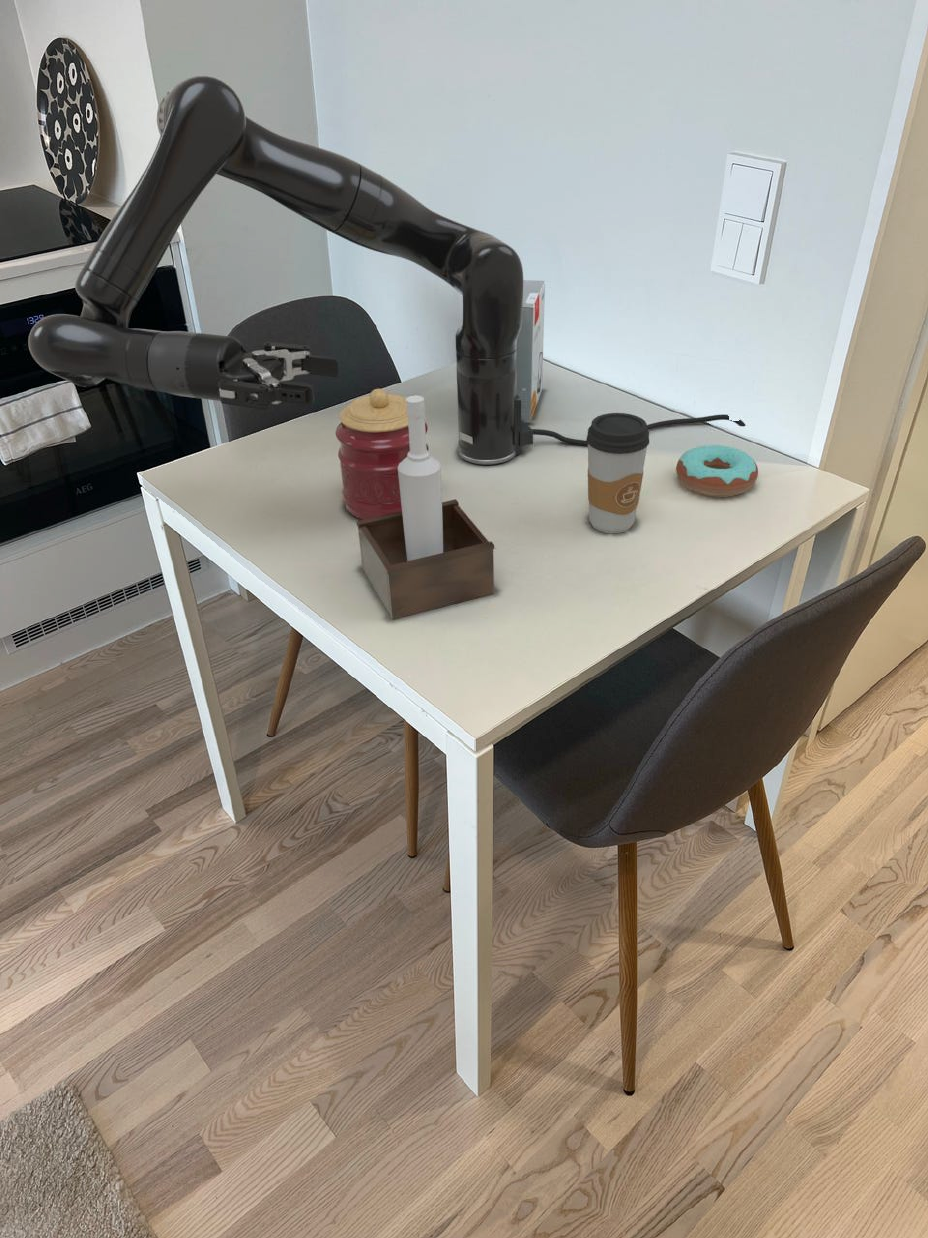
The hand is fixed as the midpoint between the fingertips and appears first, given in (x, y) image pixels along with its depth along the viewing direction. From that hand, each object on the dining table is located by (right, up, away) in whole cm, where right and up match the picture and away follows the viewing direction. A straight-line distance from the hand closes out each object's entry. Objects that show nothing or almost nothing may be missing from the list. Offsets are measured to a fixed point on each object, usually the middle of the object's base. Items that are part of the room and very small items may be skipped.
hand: (326, 380), depth 108 cm
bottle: (+11, -23, +13) cm, 29 cm away
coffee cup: (+37, -14, +24) cm, 46 cm away
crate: (+11, -23, +13) cm, 28 cm away
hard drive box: (+25, +10, +58) cm, 64 cm away
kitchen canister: (+5, -11, +30) cm, 32 cm away
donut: (+54, -7, +33) cm, 63 cm away
